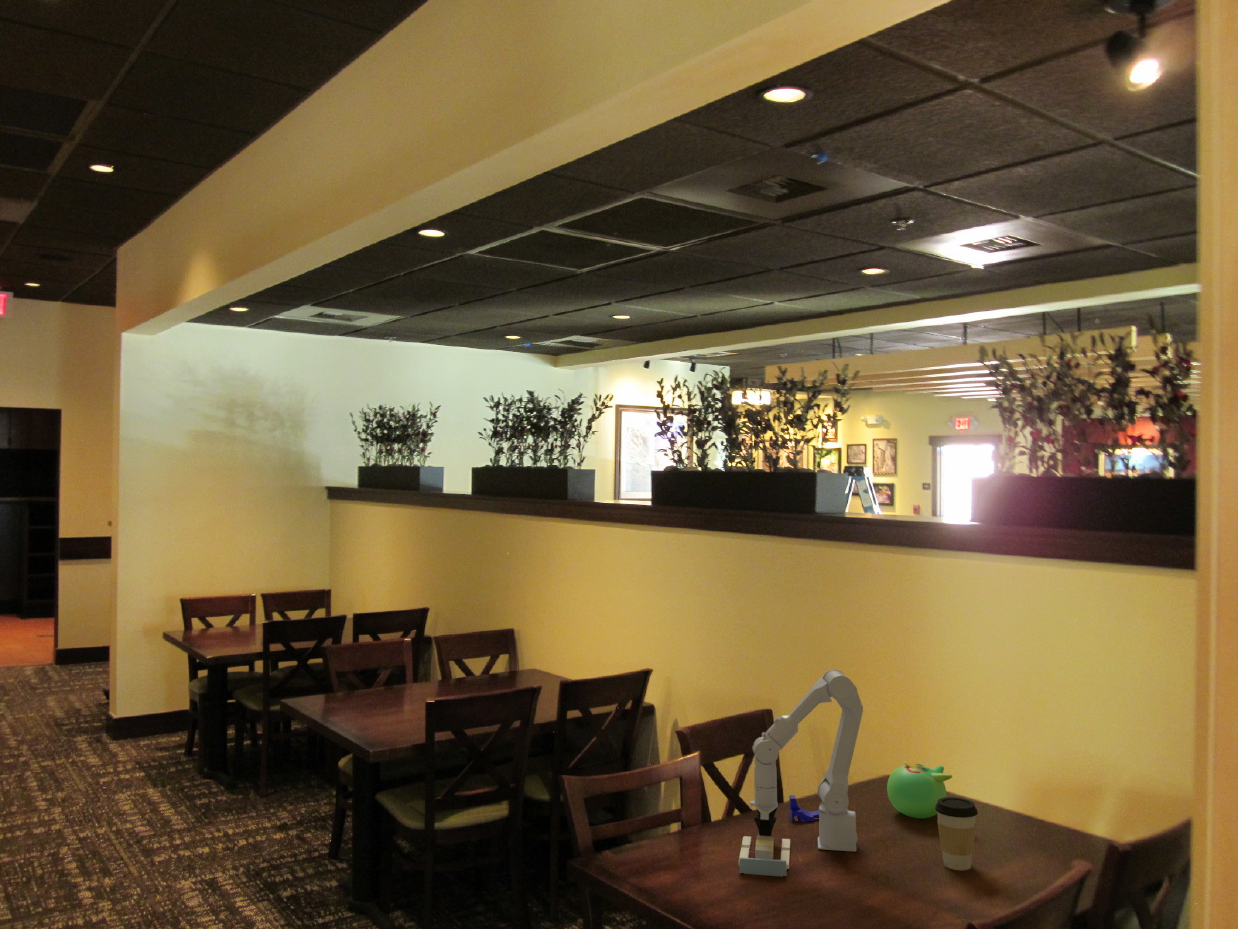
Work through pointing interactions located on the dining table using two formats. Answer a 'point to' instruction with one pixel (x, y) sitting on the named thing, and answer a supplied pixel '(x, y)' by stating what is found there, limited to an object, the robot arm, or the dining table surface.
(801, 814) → the navy blue l-shaped piece
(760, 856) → the banded cream box
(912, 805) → the toy bird
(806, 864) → the dining table surface
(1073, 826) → the dining table surface
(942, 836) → the coffee cup
